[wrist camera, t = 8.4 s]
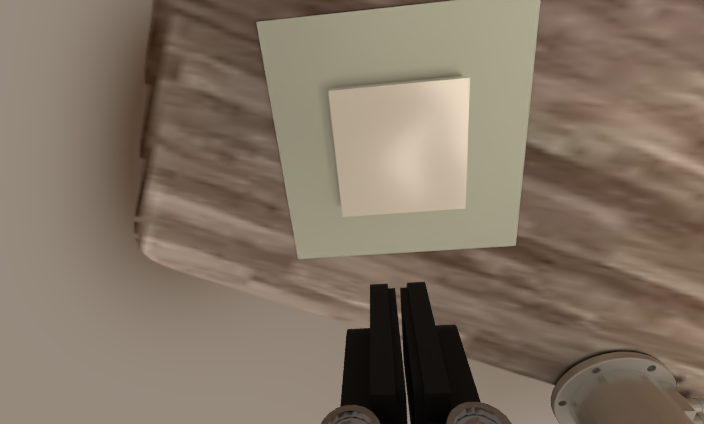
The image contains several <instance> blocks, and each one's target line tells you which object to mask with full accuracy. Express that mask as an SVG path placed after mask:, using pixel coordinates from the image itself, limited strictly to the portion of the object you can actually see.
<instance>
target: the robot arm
mask: <svg viewBox="0 0 704 424" xmlns="http://www.w3.org/2000/svg"><path fill="white" fill-rule="evenodd" d="M400 293H401V314H402V335H403V355H404V366H405V376H406V386H407V395H408V404H409V413H410V422H411V424H511V422H510V421H509V419H508V418H507V417H506V416H505V415H504V414H503V413H501V412H500V411H499V410H498V409H496V408H494V407H492V406H490V405H488V404H485V403H481V402H480V399H479V396H478V393H477V389H476V386H475V383H474V380H473V377H472V374H471V370H470V367H469V364H468V361H467V358H466V354H465V351H464V348H463V345H462V342H461V339H460V335H459V332H458V329H457V327H456V325H436V326H435V322H434V318H433V314H432V309H431V305H430V301H429V297H428V293H427V289H426V284H425V282H414V283H407V288H400ZM551 407H552V410H553V413H554V414H555V416H556V418H557V420H558V422H559V423H560V424H704V398H693V399H687V398H685V397H683V396H682V395H681V394H680V393H679V392H678V391H677V386H676V381H675V379H674V377H673V375H672V373H671V372H670V371H669V370H668V369H667V368H666V367H665V366H664V365H663V364H662V363H661V362H660V361H658V360H657V359H655V358H653V357H651V356H649V355H645V354H641V353H635V352H613V353H607V354H602V355H599V356H595V357H592V358H590V359H587V360H585V361H583V362H581V363H579V364H577V365H576V366H574V367H573V368H571V369H570V370H569V371H568V372H566V373H565V374H564V375H563V376H562V377H561V379H560V380H559V381H558V382H557V384H556V386H555V387H554V389H553V392H552V396H551ZM321 424H407V408H406V392H405V380H404V371H403V361H402V352H401V342H400V333H399V323H398V313H397V304H396V294H395V288H389V289H388V284H375V285H370V328H364V329H348V330H347V336H346V347H345V359H344V371H343V385H342V395H341V407H339V408H336V409H335V410H333V411H332V412H330V413H329V414H328V415H327V416H326V417H325V418H324V420H323V421H322V423H321Z"/></svg>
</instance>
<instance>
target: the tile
mask: <svg viewBox="0 0 704 424" xmlns="http://www.w3.org/2000/svg"><path fill="white" fill-rule="evenodd" d="M328 93H329V102H330V111H331V120H332V129H333V137H334V146H335V155H336V164H337V173H338V181H339V190H340V199H341V208H342V217H351V216H365V215H379V214H394V213H408V212H422V211H437V210H451V209H465V207H466V180H467V152H468V124H469V96H470V77H466V76H456V77H446V78H435V79H425V80H414V81H403V82H393V83H382V84H371V85H361V86H350V87H340V88H330V89H329V91H328Z"/></svg>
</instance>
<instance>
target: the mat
mask: <svg viewBox="0 0 704 424" xmlns="http://www.w3.org/2000/svg"><path fill="white" fill-rule="evenodd" d="M539 9H540V0H454V1H444V2H435V3H426V4H417V5H407V6H398V7H389V8H380V9H371V10H361V11H352V12H343V13H334V14H324V15H315V16H306V17H297V18H287V19H278V20H269V21H260V22H256V23H257V29H258V35H259V40H260V46H261V52H262V57H263V63H264V69H265V74H266V80H267V86H268V91H269V97H270V103H271V108H272V114H273V120H274V125H275V131H276V137H277V142H278V148H279V154H280V159H281V165H282V171H283V176H284V182H285V188H286V193H287V199H288V205H289V210H290V216H291V222H292V227H293V233H294V239H295V244H296V250H297V256H298V259H309V258H325V257H341V256H357V255H373V254H389V253H405V252H421V251H438V250H454V249H470V248H486V247H502V246H516V237H517V227H518V218H519V208H520V198H521V188H522V178H523V168H524V158H525V148H526V138H527V128H528V118H529V108H530V99H531V89H532V79H533V69H534V59H535V49H536V39H537V29H538V19H539ZM456 76H466V77H470V96H469V124H468V152H467V180H466V207H465V209H451V210H437V211H422V212H408V213H394V214H379V215H365V216H351V217H342V208H341V199H340V190H339V181H338V173H337V164H336V155H335V146H334V137H333V129H332V120H331V111H330V102H329V93H328V91H329V89H330V88H340V87H350V86H361V85H371V84H382V83H393V82H403V81H414V80H425V79H435V78H446V77H456Z"/></svg>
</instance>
